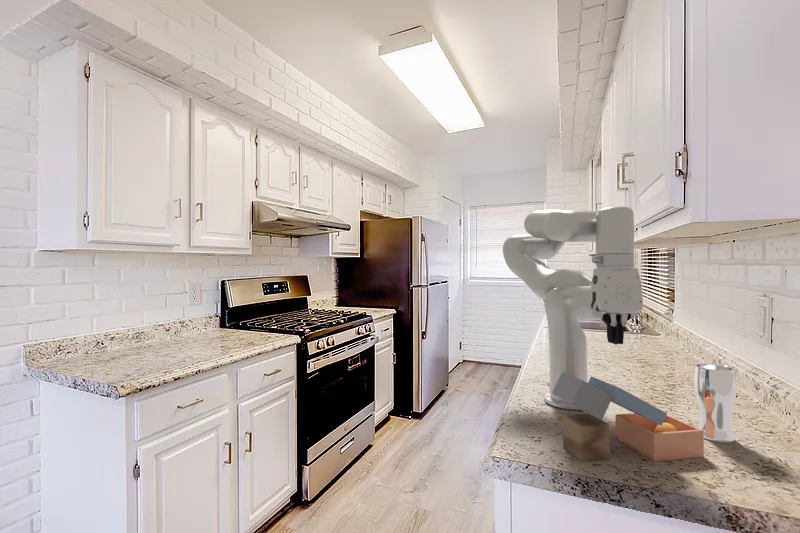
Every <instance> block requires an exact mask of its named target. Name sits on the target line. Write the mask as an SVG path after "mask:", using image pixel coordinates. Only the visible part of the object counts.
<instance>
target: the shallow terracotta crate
mask: <svg viewBox="0 0 800 533" xmlns="http://www.w3.org/2000/svg"><path fill="white" fill-rule="evenodd" d="M663 423H669V424H671V425H673V426H674V427H675V428H676V429H677V431H674V432H662V433H655V429H656V426H657V425H658V424H657V423H654V422H652V421H650V420H648V419H646V418H644V417H642V416H640V415H638V414H636V413H634V412H632V413H619V414H615V439H617V440H619V441H620V442H622V443H623V444H625V445H627V446H629V447H630V448H632V449H634V450H636V452H639V453H641V454H642V455H644V456H645V457H647V458H649V459H650V460H651V461H654V462H659V461H661V462H662V461H671V460H672V461H673V460H681V459H682V460H683V459H684V460H685V459H694V458H703V457H705V446H704V444H705V442H704V441H705V440H704V439H705V438H704V436H703V430H701V429H699V427H697V426H694V425H691V424H690V423H687V422H685V421H682V420H680V419H678V418H675V417H673V416H672V415H668V414H667V415H666V417H665V419H664V422H663Z"/></svg>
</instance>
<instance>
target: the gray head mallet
mask: <svg viewBox="0 0 800 533" xmlns="http://www.w3.org/2000/svg"><path fill="white" fill-rule="evenodd" d="M552 394H554V395H556V396H557V397H559V398H561V399H563V400H564V401H566V402H568V403H570V404H571V405H573V406H575V407H577V408H579V409H581V410H580V411H583V412H585V413H588V414H590V415H592V416H594V417H596V418H598V419H600V420H603V419H604V417H605V415H606V413H607V411H608V409H609V406H610V404H611V403H613V404H615V405H617V406H619V407H621V408H623V409H625V410H627V411H630V412H632V413H636V414H638V415H640V416H642V417H644V418H646V419H648V420H650V421H652V422H654V423H657V424H659V425H661V426H662V424H663V422H664V419H665V417H666V415H668V413H667V412H665V411H664V410H661V409H660V408H657V407H656V406H654V405H652V404H650V403H649V402H647V401H645V400H643V399H641V398H639V397H638V396H635V395H634V394H632V393H630V392H629V391H626V390H625V389H623V388H621V387H618V386H616V385H613V384H610V383H609V382H606V381H604V380H601V379H599V378H596V377H595V376H592V375H590V378H589V380H588V383H587V382H585V381H583V380H581V379H579V378H576V377H574V376H572V375H570V374H567V373H565V372H563V371H562V373H561V375H560V377H559V379H558V382H557V384H556V386H555V388H554V390H553V392H552Z"/></svg>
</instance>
